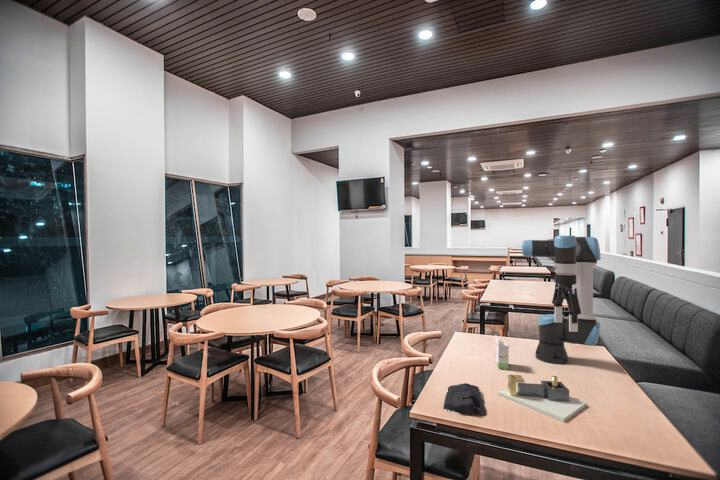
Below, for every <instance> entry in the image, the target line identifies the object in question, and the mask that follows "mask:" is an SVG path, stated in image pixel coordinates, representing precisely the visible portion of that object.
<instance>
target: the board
mask: <svg viewBox="0 0 720 480" xmlns="http://www.w3.org/2000/svg"><path fill="white" fill-rule="evenodd" d="M518 383H519V382H516V396H511V395H510V393H509V392H508V387H506V388H504V389H502V390H500V391H498V392H497V395H498V396H500V397H503V398H504V399H507V400H509V401H512V402H514V403H516V404H519V405H521V406H523V407H527V408H528V409H531V410H534V411H536V412H539V413H541V414H544V415H545V416H548V417H551V418H553V419H556V420H558V421H560V422H561V423H562V422H563V423H564V422H566V421H567V420H569V419H570V418H572V417H573V416H575V415H576V414H577V413H578V412H580V411H582V410H583V409H584V408H585V407H587V402H586V401H583V400H580V399H577V398H574V397H571V396H569V402H566V401H551V400H548V399H547V398H545V397H529V396H520V395H519V394H518ZM525 383H531V384H533V383H532V382H529V381H526V380H525Z"/></svg>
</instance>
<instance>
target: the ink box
mask: <svg viewBox="0 0 720 480" xmlns="http://www.w3.org/2000/svg"><path fill="white" fill-rule="evenodd" d="M494 341H495V342H494V344H495V346H494V349H495V354H494V355H495V358H494V359H495V360H494V361H495V362H494V363H495V364H496V367H497V368H498V370H499V369H500V370H510V368H509V365H510V364H509V351H510V350H509V348H510V346H509V345H508V343H507V341H506V340H500V338H499V337H498V336H497V335H496V334H495V339H494Z"/></svg>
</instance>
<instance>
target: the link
mask: <svg viewBox="0 0 720 480" xmlns="http://www.w3.org/2000/svg"><path fill="white" fill-rule="evenodd" d="M517 383H518V382H517ZM531 383H532V382H529V383H518V394H519V395H520V396H529V397H545V398H547V399H548V400H551V401H566V402H569V397H570V390H569V388H568V387H567V386H566V385H565V384H564V383H563V382H562V381H558V388H553V387H552V380H540V383H532V384H531Z"/></svg>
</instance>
